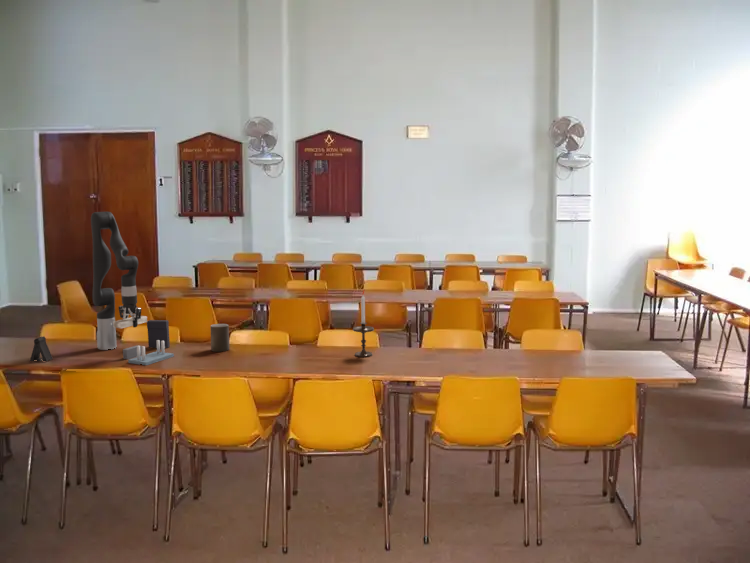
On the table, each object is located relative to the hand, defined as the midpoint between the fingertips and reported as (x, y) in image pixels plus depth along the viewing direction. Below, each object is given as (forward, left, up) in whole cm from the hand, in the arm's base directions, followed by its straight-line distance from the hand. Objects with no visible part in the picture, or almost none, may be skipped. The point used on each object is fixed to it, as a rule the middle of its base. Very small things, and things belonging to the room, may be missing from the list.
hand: (130, 326), depth 379 cm
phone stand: (-38, -25, -16) cm, 48 cm away
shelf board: (0, 0, +1) cm, 1 cm away
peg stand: (+13, 0, -16) cm, 21 cm away
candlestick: (+108, +54, -16) cm, 122 cm away
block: (0, 0, -16) cm, 16 cm away
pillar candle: (+32, +32, -16) cm, 48 cm away
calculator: (-3, +23, -16) cm, 28 cm away
